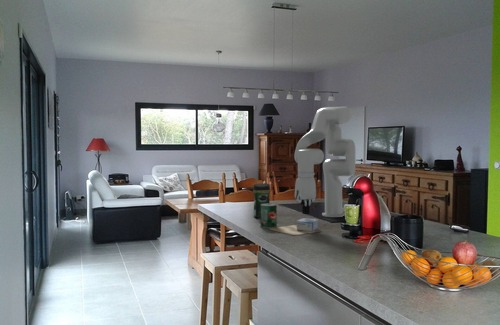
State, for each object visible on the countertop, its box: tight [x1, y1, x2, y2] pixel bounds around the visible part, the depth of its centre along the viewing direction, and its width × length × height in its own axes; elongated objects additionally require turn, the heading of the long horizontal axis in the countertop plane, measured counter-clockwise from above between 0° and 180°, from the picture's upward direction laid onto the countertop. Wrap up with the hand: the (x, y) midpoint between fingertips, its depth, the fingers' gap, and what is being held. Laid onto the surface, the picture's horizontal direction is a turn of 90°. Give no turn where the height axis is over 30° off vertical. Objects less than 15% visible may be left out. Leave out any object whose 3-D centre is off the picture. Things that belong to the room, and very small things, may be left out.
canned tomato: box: [260, 202, 278, 229], centre depth 223 cm, size 8×8×11 cm
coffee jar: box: [252, 182, 271, 219], centre depth 251 cm, size 10×8×19 cm
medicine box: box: [296, 217, 319, 231], centre depth 213 cm, size 8×4×9 cm
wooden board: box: [269, 224, 321, 237], centre depth 213 cm, size 16×18×1 cm
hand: (305, 213), depth 217 cm, fingers closed
